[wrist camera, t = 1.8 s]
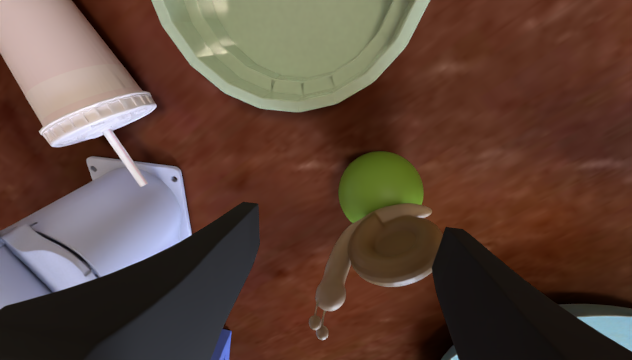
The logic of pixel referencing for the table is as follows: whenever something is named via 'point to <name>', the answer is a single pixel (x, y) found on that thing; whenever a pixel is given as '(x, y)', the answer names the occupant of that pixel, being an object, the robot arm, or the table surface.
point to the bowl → (290, 45)
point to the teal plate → (594, 323)
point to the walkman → (222, 346)
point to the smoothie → (70, 75)
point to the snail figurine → (378, 230)
